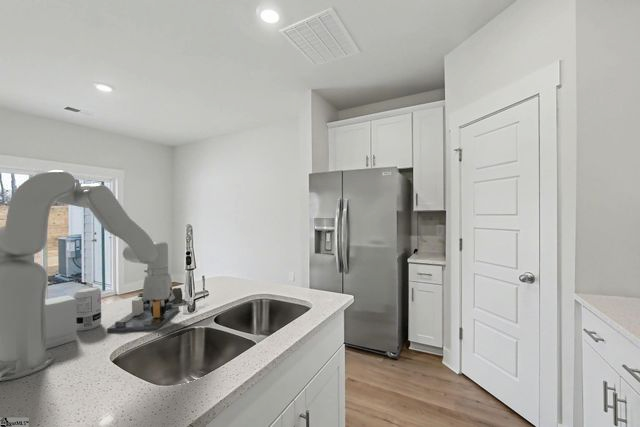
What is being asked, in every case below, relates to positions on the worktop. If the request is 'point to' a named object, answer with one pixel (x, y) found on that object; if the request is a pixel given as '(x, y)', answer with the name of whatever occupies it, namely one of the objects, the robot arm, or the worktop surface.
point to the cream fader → (137, 306)
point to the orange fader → (156, 308)
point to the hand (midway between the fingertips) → (158, 314)
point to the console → (143, 320)
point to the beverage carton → (177, 294)
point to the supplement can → (88, 308)
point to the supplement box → (60, 320)
